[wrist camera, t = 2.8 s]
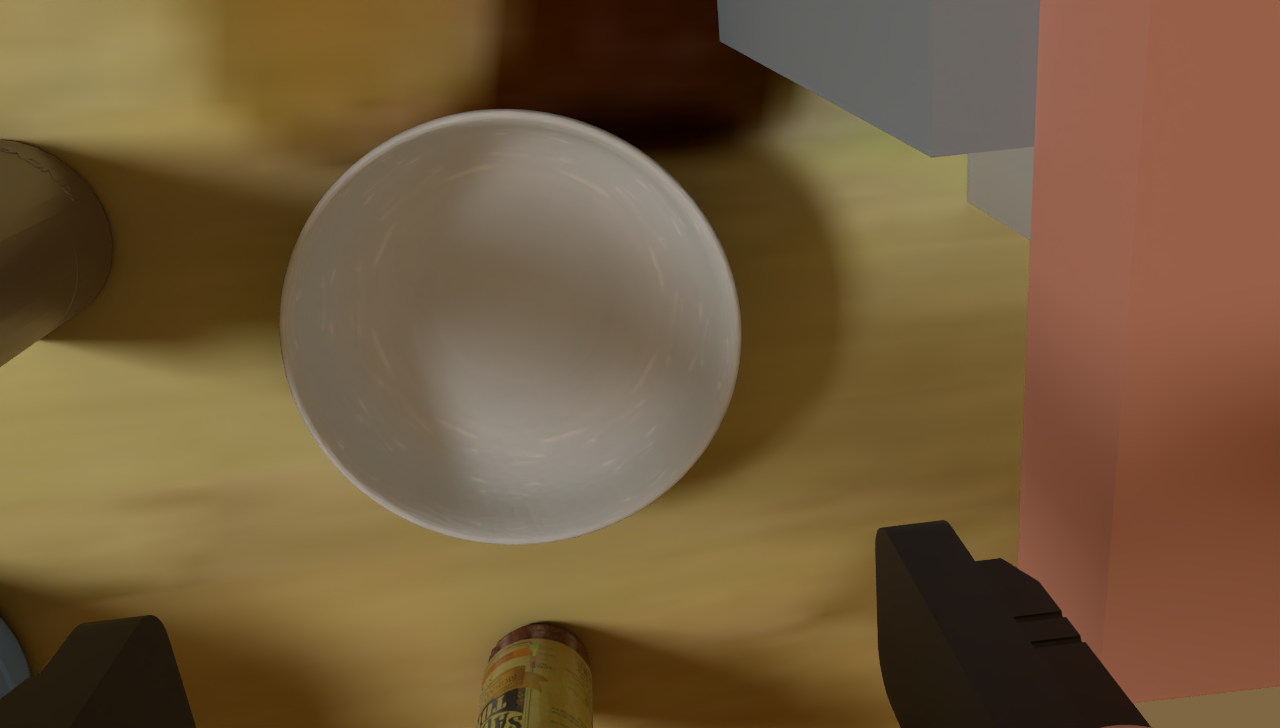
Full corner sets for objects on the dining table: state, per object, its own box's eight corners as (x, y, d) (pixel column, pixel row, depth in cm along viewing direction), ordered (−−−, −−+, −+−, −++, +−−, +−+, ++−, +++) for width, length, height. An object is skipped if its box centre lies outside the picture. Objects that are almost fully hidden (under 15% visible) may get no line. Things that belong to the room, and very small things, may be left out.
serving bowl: (300, 456, 57) (264, 520, 50) (330, 55, 50) (294, 69, 43) (681, 507, 59) (694, 574, 53) (763, 132, 52) (789, 156, 46)
